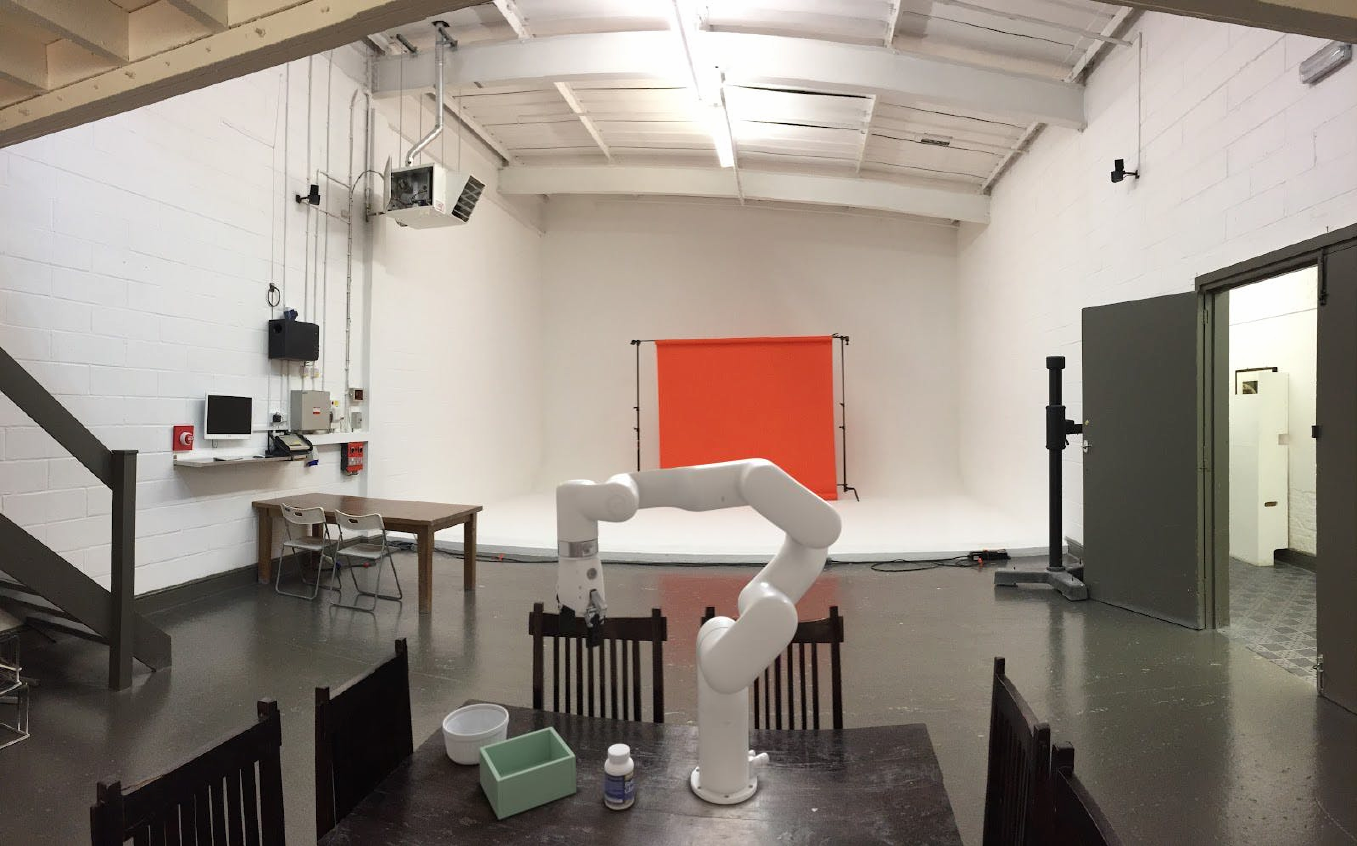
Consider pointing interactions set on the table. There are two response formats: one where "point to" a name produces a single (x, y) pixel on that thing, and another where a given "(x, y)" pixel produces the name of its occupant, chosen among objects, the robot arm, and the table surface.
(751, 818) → the table surface
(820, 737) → the table surface
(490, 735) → the ramekin
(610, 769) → the pill bottle
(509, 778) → the green open box
